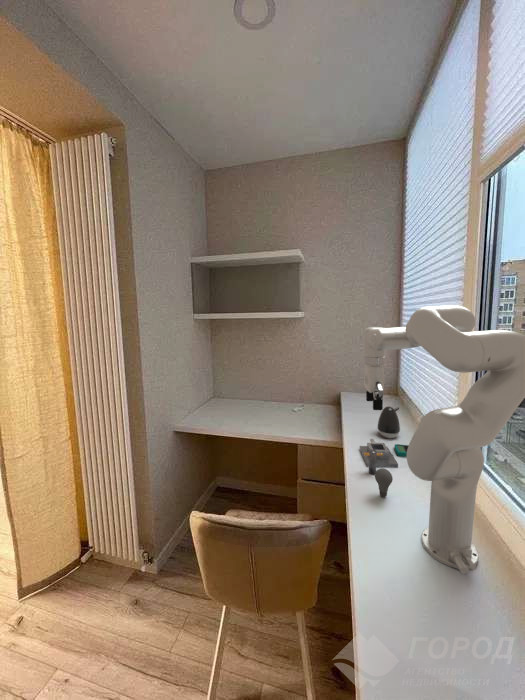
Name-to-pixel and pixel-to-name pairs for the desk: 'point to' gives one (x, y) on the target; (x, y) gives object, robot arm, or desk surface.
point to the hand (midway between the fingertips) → (373, 405)
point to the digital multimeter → (401, 450)
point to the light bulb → (383, 480)
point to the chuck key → (372, 460)
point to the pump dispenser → (389, 422)
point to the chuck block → (382, 461)
